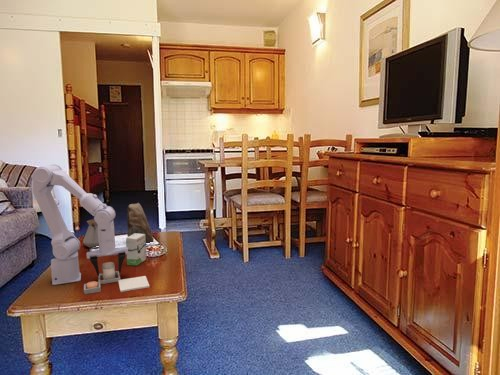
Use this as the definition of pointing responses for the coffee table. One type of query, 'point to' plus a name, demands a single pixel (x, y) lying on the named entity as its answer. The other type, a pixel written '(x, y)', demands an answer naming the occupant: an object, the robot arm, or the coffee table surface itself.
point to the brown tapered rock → (138, 222)
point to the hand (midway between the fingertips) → (109, 273)
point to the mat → (133, 283)
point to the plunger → (92, 284)
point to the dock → (98, 289)
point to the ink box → (136, 249)
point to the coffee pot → (91, 234)
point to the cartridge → (108, 270)
